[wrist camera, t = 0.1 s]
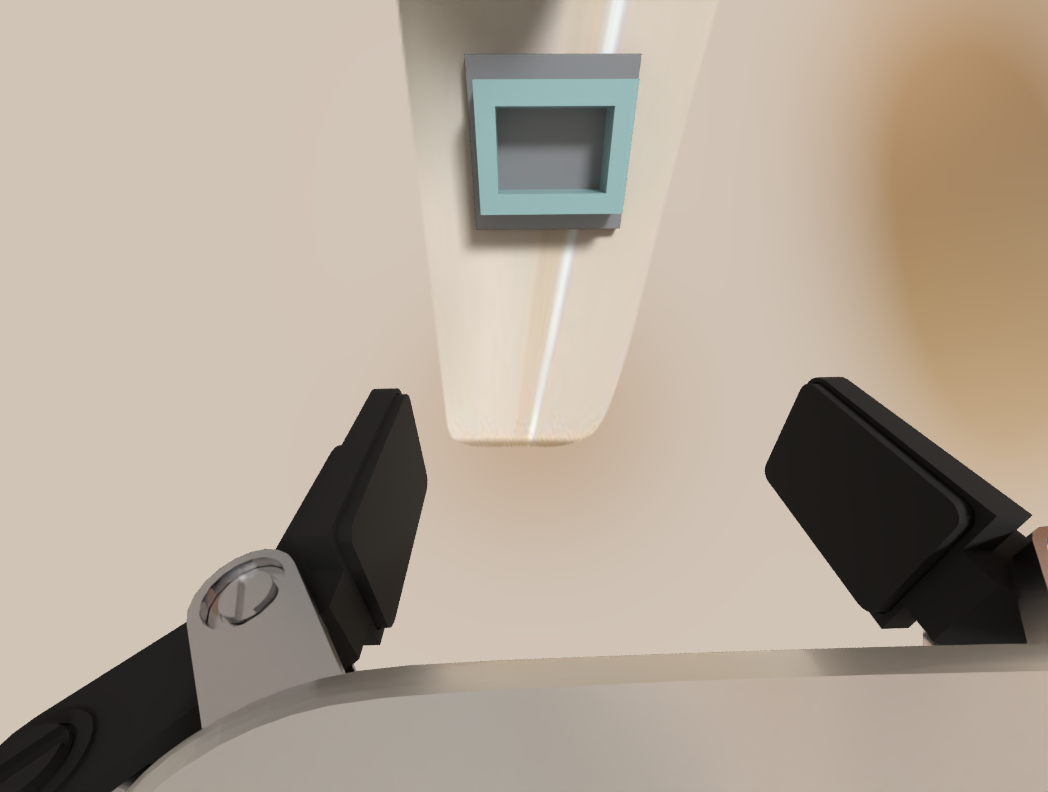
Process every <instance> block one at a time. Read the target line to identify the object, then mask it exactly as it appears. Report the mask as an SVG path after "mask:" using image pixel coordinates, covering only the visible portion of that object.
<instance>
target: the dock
mask: <svg viewBox="0 0 1048 792" xmlns="http://www.w3.org/2000/svg"><path fill="white" fill-rule="evenodd" d="M464 55H465V69H466V83H467V98H468V112H469V127H470V141H471V156H472V170H473V184H474V199H475V213H476V228H477V230H509V229H607V228H620V222H621V214H622V212H623V204H624V196H625V188H626V180H627V172H628V165H629V157H630V149H631V141H632V133H633V125H634V117H635V109H636V101H637V93H638V85H639V79H638V78H639V70H640V62H641V54H464Z"/></svg>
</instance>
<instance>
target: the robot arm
mask: <svg viewBox="0 0 1048 792" xmlns="http://www.w3.org/2000/svg"><path fill="white" fill-rule="evenodd" d="M765 475H766V478H767V480H768V482H769V483H770V484H771V486H772V487H773V488H774V490H775V491H776V492H777V494H778V495H779V496H780V498H781V499H782V501H783V502H784V503H785V505H786V506H787V507H788V509H789V510H790V512H791V513H792V514H793V516H794V517H795V518H796V520H797V521H798V522H799V523H800V525H801V527H802V528H803V529H804V531H805V532H806V533H807V535H808V536H809V537H810V539H811V540H812V542H813V543H814V544H815V546H816V547H817V548H818V550H819V551H820V552H821V554H822V555H823V556H824V558H825V559H826V561H827V562H828V563H829V565H830V566H831V567H832V569H833V570H834V571H835V573H836V574H837V575H838V577H839V578H840V579H841V581H842V582H843V584H844V585H845V586H846V588H847V589H848V590H849V592H850V593H851V595H852V596H853V597H854V599H855V600H856V601H857V603H858V604H859V605H860V606H861V607H862V608H863V609H865V610H866V611H869V612H870V614H871V615H872V616H873V618H874V619H875V620H876V622H877V623H878V624H879V626H880V627H881V628H882V629H888V628H909V627H910V626H911V625H912V624H913V623H914V622H915V621H916V620H917V621H918V623H919V624H920V625H921V626H922V628H923V629H924V631H923V646H908V647H907V646H905V647H871V648H870V647H869V648H835V649H805V650H804V649H803V650H771V651H742V652H712V653H683V654H682V653H680V654H651V655H625V656H598V657H572V658H548V659H547V658H546V659H519V660H498V661H480V662H463V663H445V664H428V665H427V664H426V665H409V666H400V667H391V668H382V669H374V670H373V669H372V670H363V671H356V669H355V666H354V663H355V662H356V661H357V660H358V659H359V657H360V654H361V651H362V647H363V645H380V643H381V639H382V635H383V632H384V628H387V627H388V628H389V627H391V626H392V625H393V623H394V620H395V617H396V613H397V609H398V605H399V601H400V596H401V593H402V588H403V584H404V580H405V576H406V572H407V568H408V564H409V560H410V555H411V551H412V548H413V543H414V539H415V535H416V531H417V527H418V523H419V519H420V515H421V511H422V507H423V502H424V498H425V494H426V490H427V474H426V469H425V465H424V460H423V456H422V451H421V447H420V442H419V437H418V433H417V428H416V424H415V419H414V415H413V411H412V406H411V402H410V398H409V396H408V395H407V394H402V393H401V391H400V390H399V389H397V388H396V389H374V390H372V391H371V393H370V395H369V397H368V399H367V400H366V402H365V404H364V406H363V407H362V409H361V411H360V413H359V415H358V417H357V419H356V420H355V422H354V424H353V426H352V427H351V429H350V431H349V433H348V435H347V437H346V438H345V441H344V442H343V444H342V445H339V446H337V447H335V448H334V450H333V451H332V452H331V454H330V455H329V457H328V459H327V461H326V462H325V464H324V466H323V468H322V469H321V471H320V473H319V475H318V476H317V478H316V480H315V482H314V483H313V485H312V487H311V488H310V490H309V492H308V494H307V496H306V497H305V499H304V501H303V502H302V505H301V506H300V508H299V509H298V511H297V513H296V515H295V516H294V518H293V520H292V522H291V523H290V525H289V527H288V529H287V530H286V532H285V534H284V536H283V537H282V539H281V541H280V543H279V545H278V546H277V548H276V550H272V549H264V550H260V551H255V552H250V553H248V554H245V555H243V556H241V557H238V558H236V559H234V560H233V561H231V562H229V563H228V564H226V565H225V566H223V567H222V568H220V569H219V570H218V571H216V572H215V573H214V574H213V575H212V576H211V577H210V578H209V579H207V580H206V581H205V583H204V584H203V585H202V586H201V588H200V589H199V590H198V592H197V593H196V594H195V596H194V598H193V600H192V602H191V604H190V606H189V608H188V613H187V622H186V623H184V624H183V625H181V626H179V627H178V628H176V629H175V630H174V631H172V632H170V633H168V634H167V635H165V636H164V637H162V638H160V639H159V640H157V641H156V642H154V643H153V644H151V645H149V646H148V647H146V648H145V649H143V650H141V651H140V652H138V653H137V654H135V655H133V656H132V657H131V658H129V659H127V660H126V661H124V662H122V663H121V664H120V665H118V666H116V667H114V668H113V669H111V670H110V671H108V672H107V673H105V674H103V675H102V676H101V677H99V678H97V679H95V680H94V681H92V682H91V683H89V684H88V685H86V686H84V687H83V688H81V689H80V690H78V691H76V692H75V693H73V694H72V695H70V696H68V697H67V698H65V699H64V700H62V701H60V702H59V703H57V704H56V705H54V706H53V707H51V708H49V709H48V710H46V711H45V712H43V713H41V714H40V715H38V716H37V717H35V718H34V719H33V720H31V721H30V722H28V723H27V724H26V725H24V726H23V727H21V728H20V729H19V730H17V731H16V732H15V733H13V734H12V735H11V736H10V737H9V738H8V739H7V740H6V741H4V742H3V743H2V744H1V745H0V792H1048V526H1045V527H1039V528H1037V529H1036V530H1034V531H1033V532H1032V533H1031V534H1030V535H1028V536H1027V537H1025V536H1024V535H1022V534H1021V533H1020V532H1018V531H1017V529H1018V528H1019V527H1020V526H1021V525H1022V524H1023V523H1024V522H1025V521H1027V520H1028V519H1029V518H1030V517H1031V516H1032V515H1031V514H1030V513H1029V512H1027V511H1026V510H1024V509H1023V508H1022V507H1021V506H1019V505H1018V504H1017V503H1015V502H1014V501H1012V500H1011V499H1010V498H1008V497H1007V496H1006V495H1004V494H1003V493H1001V492H1000V491H999V490H997V489H996V488H995V487H993V486H992V485H991V484H989V483H988V482H987V481H985V480H984V479H982V478H981V477H980V476H978V475H977V474H976V473H974V472H973V471H972V470H970V469H968V468H967V467H966V466H965V465H963V464H962V463H961V462H959V461H958V460H957V459H955V458H954V457H953V456H951V455H950V454H948V453H947V452H946V451H944V450H943V449H942V448H940V447H939V446H938V445H936V444H935V443H933V442H932V441H931V440H929V439H928V438H926V437H925V436H924V435H923V434H921V433H920V432H918V431H917V430H916V429H914V428H913V427H912V426H910V425H909V424H908V423H906V422H905V421H903V420H902V419H901V418H899V417H898V416H896V415H895V414H894V413H893V412H891V411H890V410H888V409H887V408H886V407H884V406H883V405H882V404H880V403H879V402H878V401H876V400H875V399H874V398H872V397H871V396H869V395H868V394H867V393H865V392H864V391H863V390H861V389H860V388H859V387H857V386H856V385H854V384H853V383H852V382H850V381H849V380H848V379H845V378H843V377H822V378H821V377H818V378H813V379H811V380H810V381H809V382H808V384H806V385H804V386H803V387H802V388H801V390H800V392H799V394H798V396H797V398H796V401H795V403H794V405H793V407H792V409H791V411H790V414H789V416H788V418H787V420H786V423H785V424H784V427H783V429H782V431H781V433H780V435H779V438H778V440H777V442H776V444H775V446H774V448H773V450H772V453H771V455H770V457H769V459H768V461H767V464H766V466H765Z"/></svg>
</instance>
